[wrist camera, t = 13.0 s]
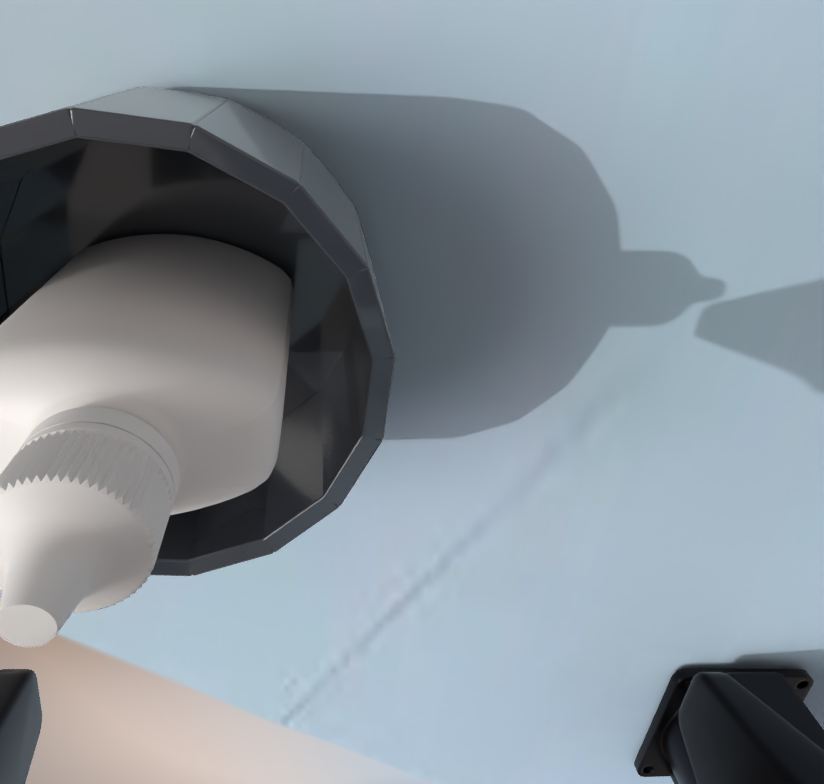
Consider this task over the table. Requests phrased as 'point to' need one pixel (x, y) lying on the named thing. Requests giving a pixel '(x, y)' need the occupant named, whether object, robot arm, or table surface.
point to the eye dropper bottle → (130, 415)
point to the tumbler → (235, 225)
